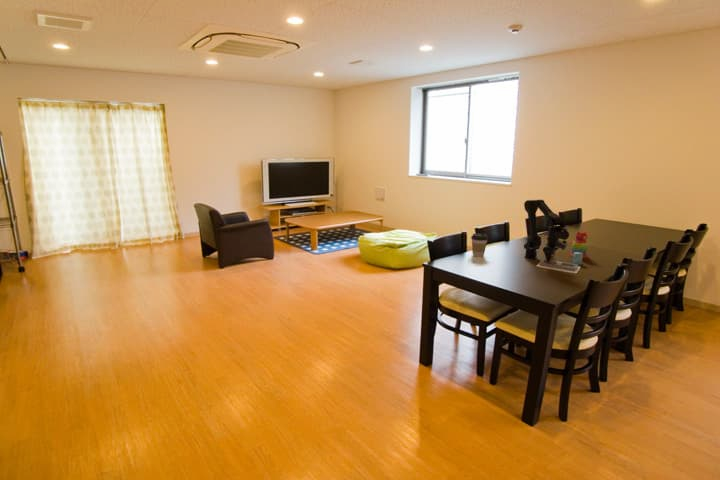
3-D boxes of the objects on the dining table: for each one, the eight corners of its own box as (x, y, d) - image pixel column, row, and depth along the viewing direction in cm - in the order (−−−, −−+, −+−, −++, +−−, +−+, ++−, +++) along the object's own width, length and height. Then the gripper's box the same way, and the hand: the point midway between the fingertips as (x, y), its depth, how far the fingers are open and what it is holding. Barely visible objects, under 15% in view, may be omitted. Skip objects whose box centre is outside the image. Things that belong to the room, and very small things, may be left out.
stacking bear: (576, 259, 274) (580, 233, 269) (566, 255, 283) (569, 230, 279) (590, 258, 276) (594, 233, 271) (580, 254, 285) (583, 229, 281)
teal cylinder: (572, 263, 264) (573, 253, 262) (573, 262, 268) (574, 251, 266) (580, 265, 261) (582, 254, 259) (581, 263, 265) (583, 253, 263)
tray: (536, 266, 258) (536, 262, 257) (541, 261, 269) (542, 257, 268) (576, 273, 244) (576, 269, 244) (580, 267, 255) (581, 264, 255)
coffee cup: (487, 258, 275) (489, 237, 271) (470, 257, 277) (471, 236, 273) (485, 254, 285) (487, 233, 282) (469, 253, 288) (470, 232, 284)
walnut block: (544, 265, 259) (545, 254, 257) (546, 263, 263) (547, 252, 261) (552, 266, 256) (554, 255, 254) (554, 264, 260) (556, 254, 258)
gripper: (563, 240, 243) (560, 265, 247) (570, 235, 257) (566, 258, 261) (544, 238, 249) (541, 262, 253) (551, 232, 264) (548, 255, 268)
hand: (550, 259), depth 259 cm, fingers open, 9 cm apart
